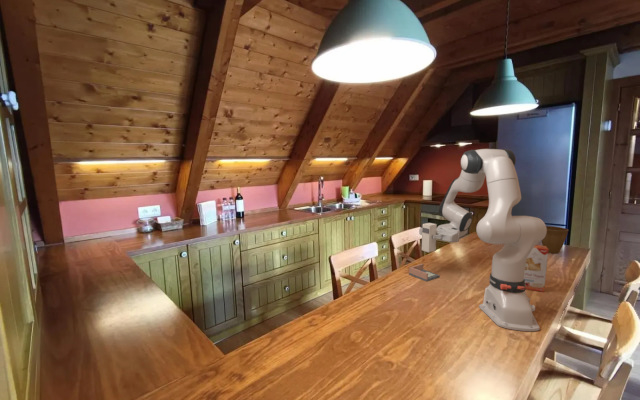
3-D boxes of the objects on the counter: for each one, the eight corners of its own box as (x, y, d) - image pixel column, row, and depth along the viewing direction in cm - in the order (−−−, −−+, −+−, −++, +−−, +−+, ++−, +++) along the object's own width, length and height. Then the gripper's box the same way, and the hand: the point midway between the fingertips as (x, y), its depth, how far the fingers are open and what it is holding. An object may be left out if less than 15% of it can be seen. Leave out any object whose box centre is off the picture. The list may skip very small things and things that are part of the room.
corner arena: (439, 277, 156) (439, 269, 156) (426, 281, 151) (426, 274, 150) (421, 270, 166) (422, 263, 165) (408, 274, 160) (409, 267, 160)
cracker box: (508, 287, 143) (512, 244, 141) (507, 282, 149) (511, 241, 146) (544, 292, 137) (549, 248, 134) (542, 287, 142) (546, 245, 139)
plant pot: (571, 254, 191) (574, 229, 189) (553, 256, 188) (555, 231, 186) (549, 247, 205) (551, 225, 203) (531, 249, 202) (533, 226, 200)
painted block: (435, 250, 155) (436, 224, 153) (428, 252, 152) (429, 225, 150) (428, 248, 159) (429, 222, 157) (421, 250, 156) (422, 224, 154)
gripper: (428, 223, 169) (412, 226, 162) (462, 230, 152) (445, 234, 145) (428, 234, 170) (411, 237, 163) (461, 242, 153) (445, 246, 146)
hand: (428, 236), depth 154 cm, fingers closed on painted block, 4 cm apart
